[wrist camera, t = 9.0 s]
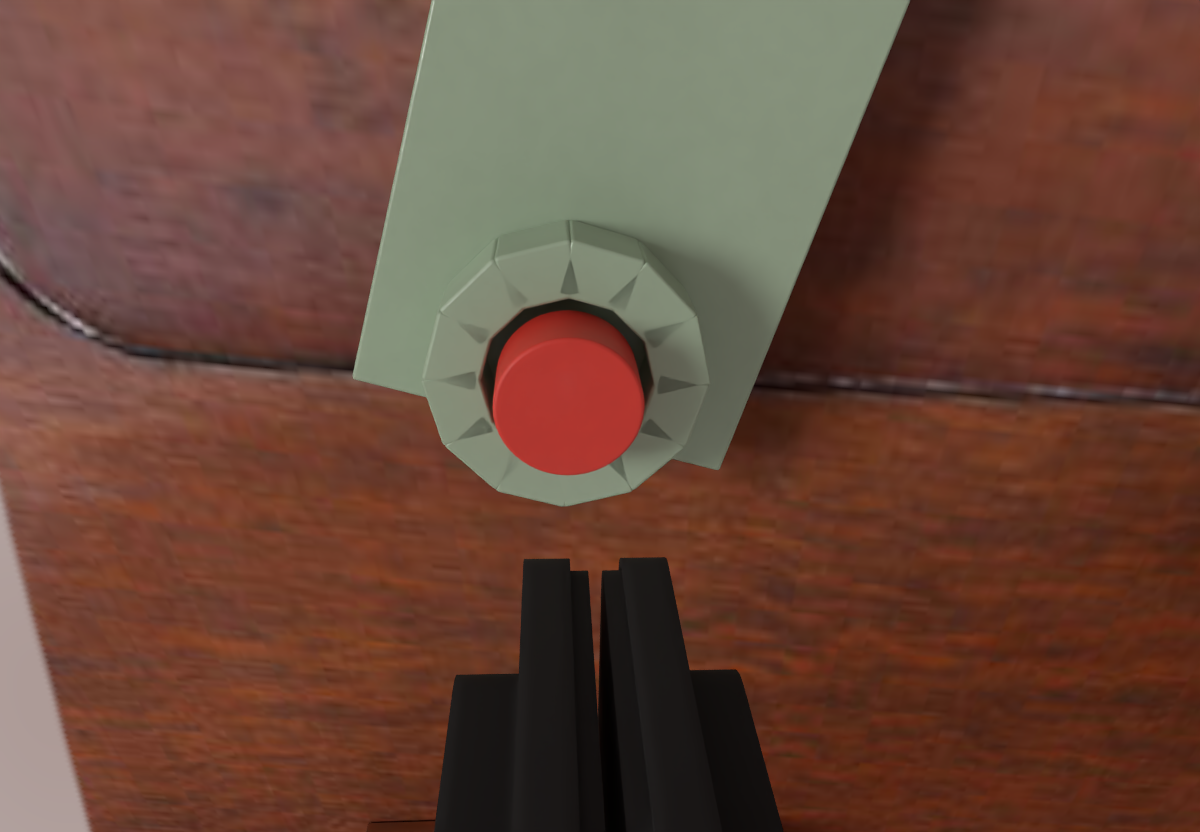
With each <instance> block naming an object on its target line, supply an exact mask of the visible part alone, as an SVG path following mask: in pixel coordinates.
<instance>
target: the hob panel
mask: <svg viewBox="0 0 1200 832" xmlns="http://www.w3.org/2000/svg"><path fill="white" fill-rule="evenodd" d="M434 828H435V821H417V822H385V823H369V824H368V827H367V831H366V832H434Z"/></svg>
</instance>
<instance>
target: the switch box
mask: <svg viewBox="0 0 1200 832" xmlns="http://www.w3.org/2000/svg"><path fill="white" fill-rule="evenodd" d="M909 3H910V0H432V1H431V6H430V11H429V15H428V20H427V25H426V30H425V34H424V39H423V44H422V49H421V53H420V58H419V63H418V67H417V72H416V77H415V82H414V86H413V91H412V96H411V101H410V105H409V110H408V115H407V120H406V124H405V129H404V134H403V139H402V143H401V148H400V153H399V158H398V162H397V167H396V172H395V177H394V181H393V186H392V191H391V196H390V200H389V205H388V210H387V214H386V219H385V224H384V229H383V233H382V238H381V243H380V248H379V252H378V257H377V262H376V267H375V271H374V276H373V281H372V286H371V290H370V295H369V300H368V305H367V309H366V314H365V319H364V324H363V328H362V333H361V338H360V343H359V347H358V352H357V357H356V361H355V366H354V371H353V378H354V379H355V380H359V381H363V382H367V383H371V384H375V385H379V386H383V387H387V388H391V389H395V390H399V391H403V392H407V393H411V394H415V395H419V396H423V397H427V400H428V402H429V405H430V408H431V411H432V414H433V417H434V420H435V423H436V426H437V429H438V432H439V435H440V437H441V440H442V443H443V444H444V445H445V446H446V447H447V448H448V449H449V450H450V451H451V452H452V453H453V454H455V455H456V456H457V457H458V458H459V459H460V460H462V461H463V462H464V463H465V464H466V465H467V466H469V467H470V468H471V469H472V470H473V471H474V472H476V473H477V474H478V475H479V476H480V477H481V478H483V479H484V480H485V481H486V482H487V483H488V484H489V485H491V486H492V487H493V488H495V489H497V491H498V492H502V493H507V494H511V495H515V496H519V497H524V498H528V499H532V500H536V501H541V502H545V503H549V504H553V505H558V506H562V507H563V506H571V505H575V504H580V503H584V502H589V501H593V500H597V499H602V498H606V497H611V496H615V495H620V494H624V493H628V492H631V491H632V489H633V490H634V489H636V488H637V487H638V486H639V485H641V484H642V483H643V482H644V481H645V480H647V479H648V478H649V477H650V476H652V475H653V474H654V473H655V472H656V471H658V470H659V469H660V468H661V467H662V466H664V465H665V464H666V463H667V462H669V461H670V460H671V459H675V460H679V461H683V462H687V463H691V464H695V465H699V466H703V467H707V468H711V469H715V470H719V469H720V467H721V464H722V462H723V459H724V457H725V454H726V452H727V450H728V447H729V445H730V442H731V440H732V437H733V435H734V432H735V430H736V427H737V425H738V423H739V420H740V418H741V415H742V413H743V410H744V408H745V405H746V403H747V400H748V398H749V396H750V393H751V391H752V388H753V386H754V383H755V381H756V378H757V376H758V373H759V371H760V369H761V366H762V364H763V361H764V359H765V356H766V354H767V351H768V349H769V346H770V344H771V342H772V339H773V337H774V334H775V332H776V329H777V327H778V324H779V322H780V319H781V317H782V314H783V312H784V310H785V307H786V305H787V302H788V300H789V297H790V295H791V292H792V290H793V287H794V285H795V283H796V280H797V278H798V275H799V273H800V270H801V268H802V265H803V263H804V260H805V258H806V256H807V253H808V251H809V248H810V246H811V243H812V241H813V238H814V236H815V233H816V231H817V229H818V226H819V224H820V221H821V219H822V216H823V214H824V211H825V209H826V206H827V204H828V202H829V199H830V197H831V194H832V192H833V189H834V187H835V184H836V182H837V179H838V177H839V174H840V172H841V170H842V167H843V165H844V162H845V160H846V157H847V155H848V152H849V150H850V147H851V145H852V143H853V140H854V138H855V135H856V133H857V130H858V128H859V125H860V123H861V120H862V118H863V116H864V113H865V111H866V108H867V106H868V103H869V101H870V98H871V96H872V93H873V91H874V89H875V86H876V84H877V81H878V79H879V76H880V74H881V71H882V69H883V66H884V64H885V62H886V59H887V57H888V54H889V52H890V49H891V47H892V44H893V42H894V39H895V37H896V35H897V32H898V30H899V27H900V25H901V22H902V20H903V17H904V15H905V12H906V10H907V7H908V5H909ZM562 310H572V311H581V312H586V313H589V314H592V315H595V316H597V317H600V318H602V319H604V320H605V321H607V322H608V323H610V324H611V325H613V326H614V327H615V328H616V329H617V330H618V331H619V332H620V333H621V334H622V335H623V336H624V337H625V339H626V340H627V342H628V343H629V345H630V347H631V349H632V351H633V353H634V357H635V360H636V364H637V368H638V372H639V376H640V380H641V384H642V388H643V393H644V400H645V410H644V417H643V421H642V425H641V428H640V430H639V432H638V435H637V436H636V438H635V440H634V441H633V443H632V444H631V445H630V447H629V448H628V449H627V450H626V451H625V452H624V453H623V454H622V455H621V456H620V457H619V458H617V459H616V460H615V461H613V462H612V463H610V464H608V465H607V466H605V467H603V468H600V469H598V470H596V471H593V472H589V473H585V474H579V475H556V474H551V473H547V472H543V471H540V470H538V469H535V468H533V467H531V466H529V465H528V464H526V463H524V462H523V461H521V460H520V459H519V458H518V457H516V456H515V455H514V454H513V453H512V452H511V451H510V450H509V449H508V448H507V446H506V445H505V444H504V442H503V441H502V439H501V437H500V435H499V434H498V431H497V428H496V426H495V422H494V418H493V408H492V406H493V394H494V386H495V378H496V370H497V364H498V359H499V357H500V354H501V351H502V349H503V347H504V345H505V343H506V342H507V341H508V339H509V338H510V337H511V335H512V334H513V333H514V332H515V331H516V330H517V329H518V328H520V327H521V326H522V325H523V324H525V323H526V322H528V321H529V320H531V319H533V318H535V317H537V316H540V315H542V314H546V313H549V312H554V311H562Z"/></svg>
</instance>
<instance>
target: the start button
mask: <svg viewBox="0 0 1200 832" xmlns="http://www.w3.org/2000/svg"><path fill="white" fill-rule="evenodd" d="M492 408H493V418H494V422H495V426H496V428H497V431H498V434H499V435H500V437H501V439H502V441H503V442H504V444H505V445H506V446H507V448H508V449H509V450H510V451H511V452H512V453H513V454H514V455H515V456H516V457H518V458H519V459H520V460H521V461H523V462H524V463H526V464H528V465H529V466H531V467H533V468H535V469H538V470H540V471H543V472H547V473H551V474H556V475H579V474H585V473H589V472H593V471H596V470H598V469H600V468H603V467H605V466H607V465H608V464H610V463H612V462H613V461H615V460H616V459H617V458H619V457H620V456H621V455H622V454H623V453H624V452H625V451H626V450H627V449H628V448H629V447H630V445H631V444H632V443H633V441H634V440H635V438H636V436H637V435H638V432H639V430H640V428H641V425H642V421H643V417H644V410H645V400H644V393H643V388H642V384H641V380H640V376H639V372H638V368H637V364H636V360H635V357H634V353H633V351H632V349H631V347H630V345H629V343H628V342H627V340H626V339H625V337H624V336H623V335H622V334H621V333H620V332H619V331H618V330H617V329H616V328H615V327H614V326H613V325H611V324H610V323H608V322H607V321H605V320H604V319H602V318H600V317H597V316H595V315H592V314H589V313H586V312H581V311H572V310H562V311H554V312H549V313H546V314H542V315H540V316H537V317H535V318H533V319H531V320H529V321H528V322H526V323H525V324H523V325H522V326H521V327H520V328H518V329H517V330H516V331H515V332H514V333H513V334H512V335H511V337H510V338H509V339H508V341H507V342H506V343H505V345H504V347H503V349H502V351H501V354H500V357H499V359H498V364H497V370H496V378H495V386H494V394H493V406H492Z"/></svg>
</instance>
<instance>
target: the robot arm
mask: <svg viewBox="0 0 1200 832" xmlns="http://www.w3.org/2000/svg"><path fill="white" fill-rule="evenodd" d="M434 832H783V828H782V824H781V821H780V817H779V813H778V810H777V806H776V802H775V799H774V795H773V791H772V788H771V784H770V781H769V777H768V773H767V770H766V766H765V762H764V759H763V755H762V751H761V748H760V744H759V740H758V737H757V733H756V729H755V726H754V722H753V718H752V715H751V711H750V707H749V704H748V700H747V696H746V693H745V689H744V685H743V682H742V680H741V677H740V674H739V673H738V671H737V670H689V665H688V660H687V655H686V650H685V645H684V640H683V635H682V630H681V625H680V620H679V615H678V610H677V605H676V600H675V596H674V591H673V586H672V581H671V576H670V571H669V566H668V562H667V559H666V558H665V557H662V558H620V561H619V570H611V571H602V582H601V621H600V661H599V700H598V713H597V698H596V683H595V668H594V653H593V638H592V623H591V608H590V593H589V578H588V571H570V559H524V564H523V587H522V611H521V635H520V660H519V674H481V675H456V677H455V680H454V686H453V692H452V700H451V708H450V715H449V723H448V730H447V738H446V745H445V753H444V760H443V768H442V776H441V783H440V791H439V798H438V806H437V813H436V821H435V828H434Z"/></svg>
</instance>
